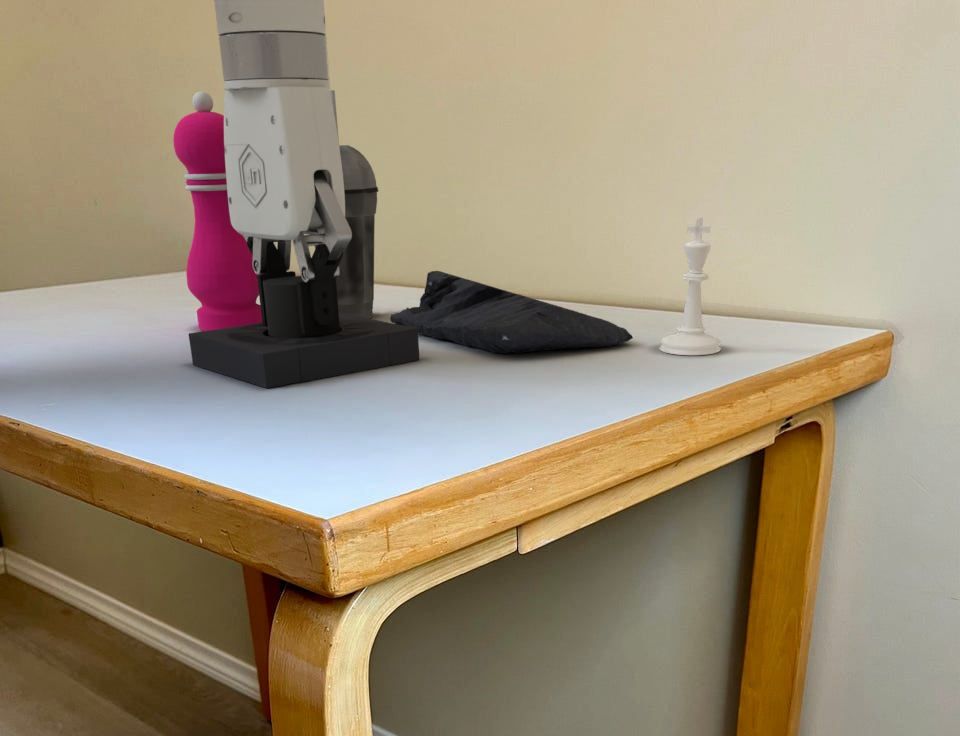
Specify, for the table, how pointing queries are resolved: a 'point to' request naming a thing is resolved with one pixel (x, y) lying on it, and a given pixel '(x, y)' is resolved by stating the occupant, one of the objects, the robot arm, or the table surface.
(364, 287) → the beverage cup
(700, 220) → the chess piece
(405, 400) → the table surface
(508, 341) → the black fabric pouch
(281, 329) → the dark gray cylinder
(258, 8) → the robot arm
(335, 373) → the base pad
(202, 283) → the pepper mill
